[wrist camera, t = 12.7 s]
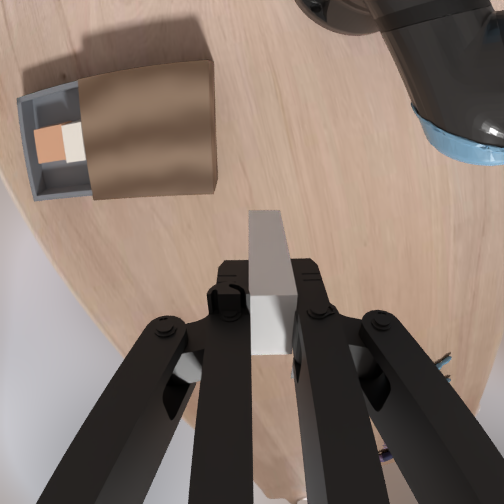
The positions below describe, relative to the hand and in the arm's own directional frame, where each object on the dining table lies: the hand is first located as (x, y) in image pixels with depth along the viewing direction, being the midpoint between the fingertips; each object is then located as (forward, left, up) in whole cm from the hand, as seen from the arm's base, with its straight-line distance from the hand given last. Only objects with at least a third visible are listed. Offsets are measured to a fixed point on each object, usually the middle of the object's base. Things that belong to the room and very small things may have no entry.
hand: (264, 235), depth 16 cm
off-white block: (-2, -21, -25) cm, 33 cm away
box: (-2, -27, -28) cm, 39 cm away
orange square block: (-2, -28, -24) cm, 37 cm away
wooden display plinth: (-2, -13, -28) cm, 31 cm away
